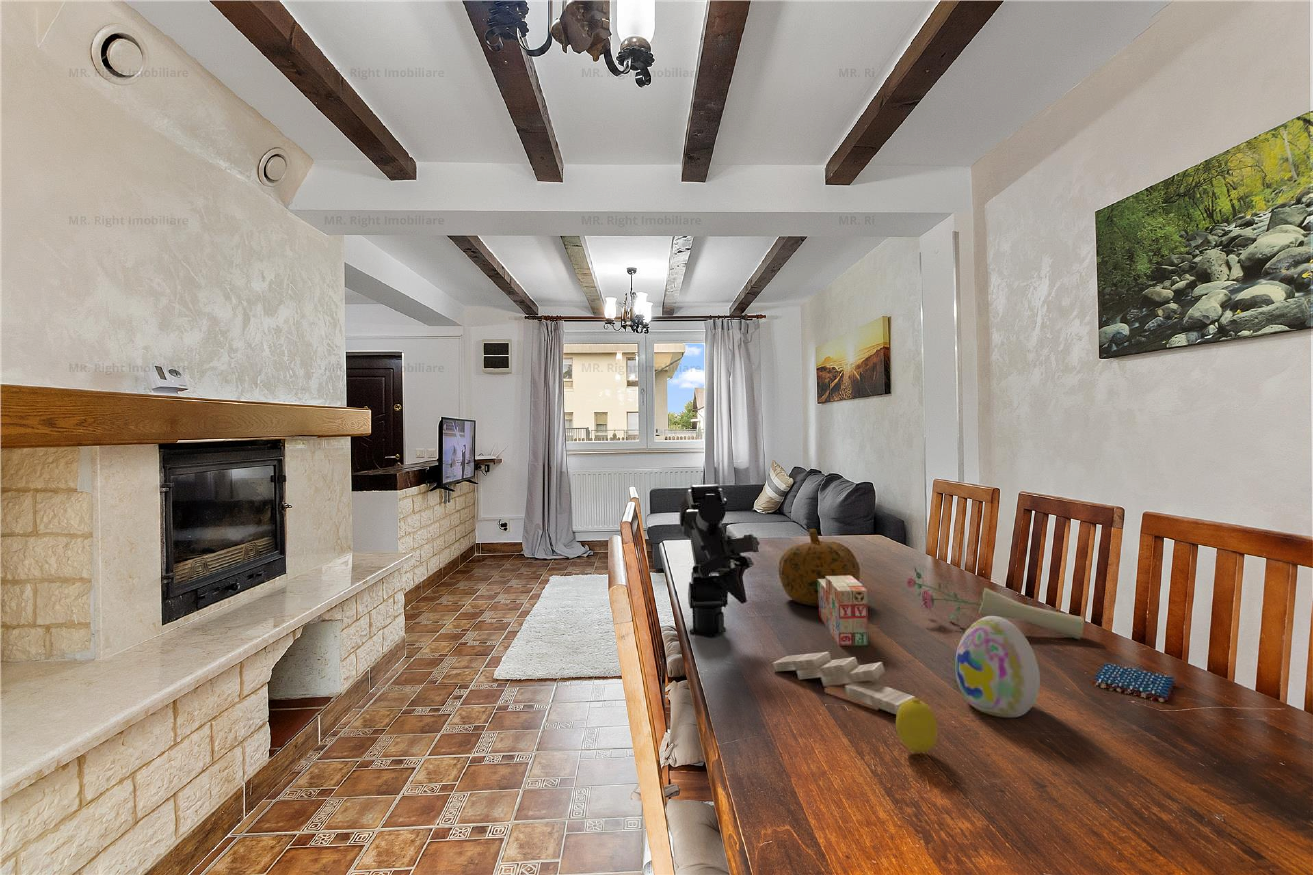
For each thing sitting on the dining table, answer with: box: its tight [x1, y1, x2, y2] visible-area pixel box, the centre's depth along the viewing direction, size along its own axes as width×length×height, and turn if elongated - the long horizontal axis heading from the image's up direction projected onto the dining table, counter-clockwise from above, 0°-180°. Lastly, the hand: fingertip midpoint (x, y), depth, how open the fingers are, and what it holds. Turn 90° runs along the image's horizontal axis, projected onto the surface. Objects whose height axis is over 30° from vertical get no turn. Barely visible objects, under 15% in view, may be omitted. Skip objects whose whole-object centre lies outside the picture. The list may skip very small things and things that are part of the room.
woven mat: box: [1091, 662, 1176, 703], centre depth 107 cm, size 10×11×2 cm
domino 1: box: [771, 651, 832, 672], centre depth 116 cm, size 2×5×10 cm
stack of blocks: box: [817, 576, 869, 647], centre depth 140 cm, size 21×6×12 cm, turn 177°
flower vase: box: [906, 566, 1085, 641], centre depth 138 cm, size 12×12×35 cm
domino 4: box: [824, 683, 880, 711], centre depth 106 cm, size 2×5×10 cm
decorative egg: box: [954, 615, 1041, 718], centre depth 101 cm, size 12×12×15 cm
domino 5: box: [845, 680, 916, 716], centre depth 102 cm, size 2×5×10 cm
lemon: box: [895, 697, 939, 755], centre depth 87 cm, size 6×6×8 cm
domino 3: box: [820, 661, 885, 688], centre depth 109 cm, size 2×5×10 cm
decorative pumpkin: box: [778, 528, 861, 607], centre depth 163 cm, size 20×21×20 cm
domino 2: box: [795, 656, 859, 681], centre depth 112 cm, size 2×5×10 cm
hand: (744, 602), depth 129 cm, fingers closed
